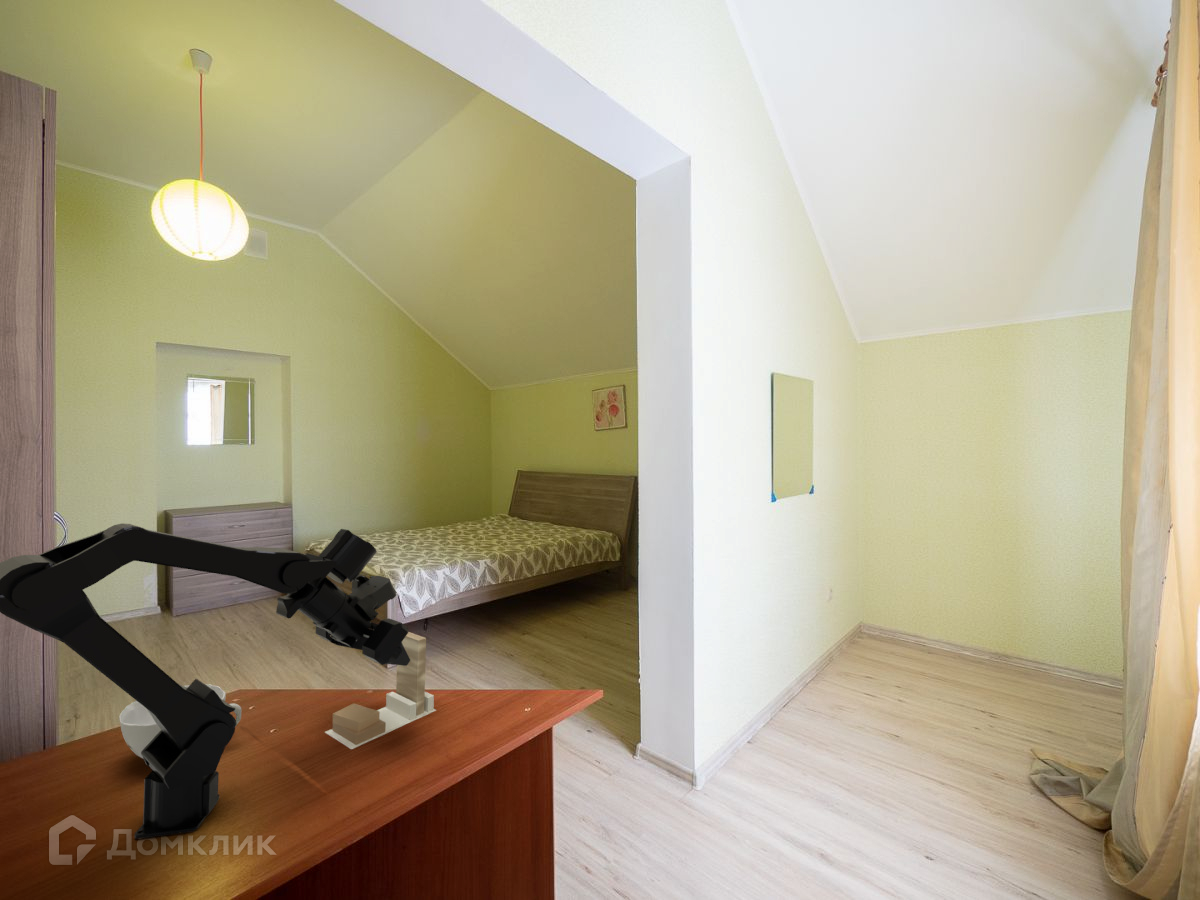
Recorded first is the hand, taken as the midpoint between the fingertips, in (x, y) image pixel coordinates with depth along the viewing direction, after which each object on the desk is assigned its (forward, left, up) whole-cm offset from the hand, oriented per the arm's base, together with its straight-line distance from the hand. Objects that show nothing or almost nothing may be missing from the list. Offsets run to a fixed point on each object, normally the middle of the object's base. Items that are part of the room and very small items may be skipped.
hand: (392, 656), depth 90 cm
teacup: (-29, -3, -12) cm, 32 cm away
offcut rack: (-1, -1, -11) cm, 12 cm away
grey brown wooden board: (+3, +3, -10) cm, 11 cm away
